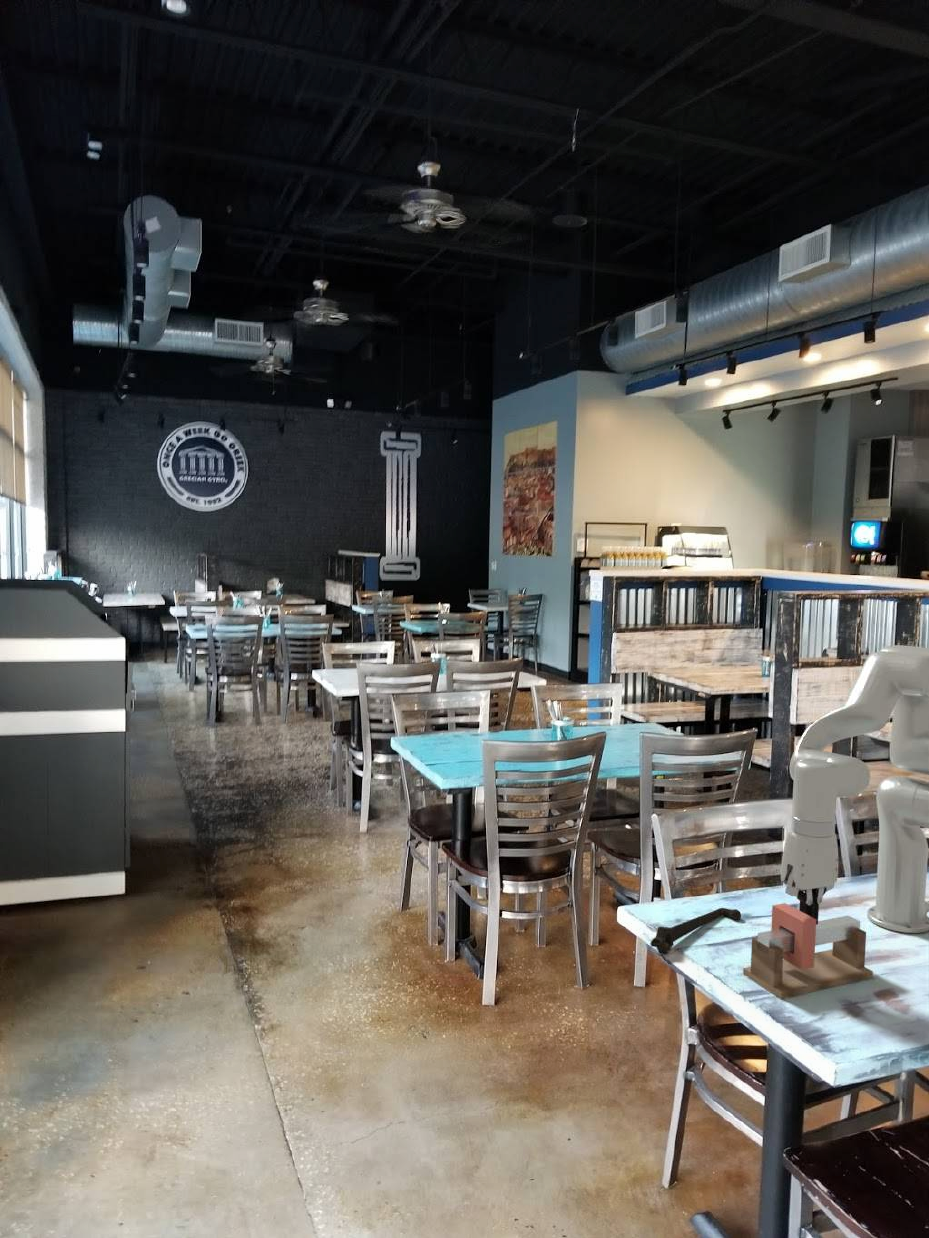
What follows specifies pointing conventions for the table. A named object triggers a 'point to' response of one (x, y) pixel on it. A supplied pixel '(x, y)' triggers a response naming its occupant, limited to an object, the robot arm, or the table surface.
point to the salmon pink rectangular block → (796, 934)
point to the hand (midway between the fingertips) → (808, 922)
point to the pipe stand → (827, 971)
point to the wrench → (688, 928)
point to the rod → (824, 934)
